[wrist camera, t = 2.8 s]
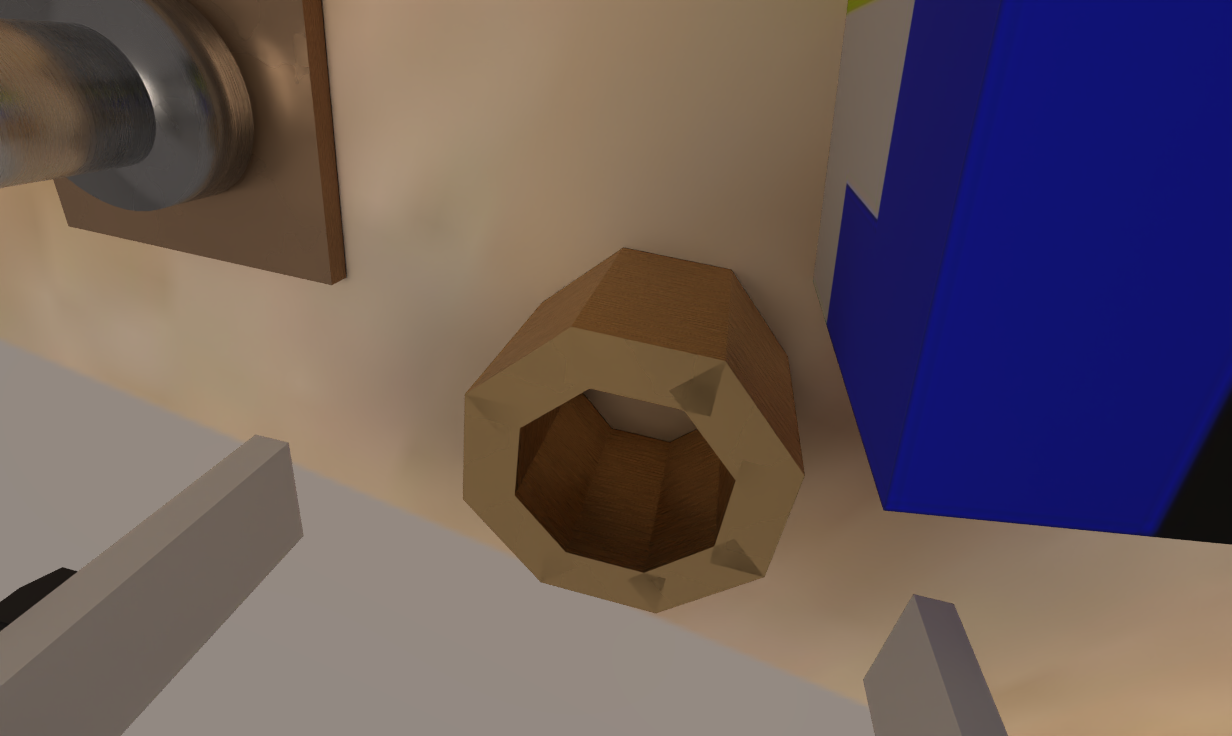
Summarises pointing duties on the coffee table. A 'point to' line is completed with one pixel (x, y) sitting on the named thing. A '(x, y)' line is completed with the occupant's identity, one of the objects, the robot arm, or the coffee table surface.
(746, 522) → the ring
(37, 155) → the peg on square base
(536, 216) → the coffee table surface
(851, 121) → the puzzle toy
